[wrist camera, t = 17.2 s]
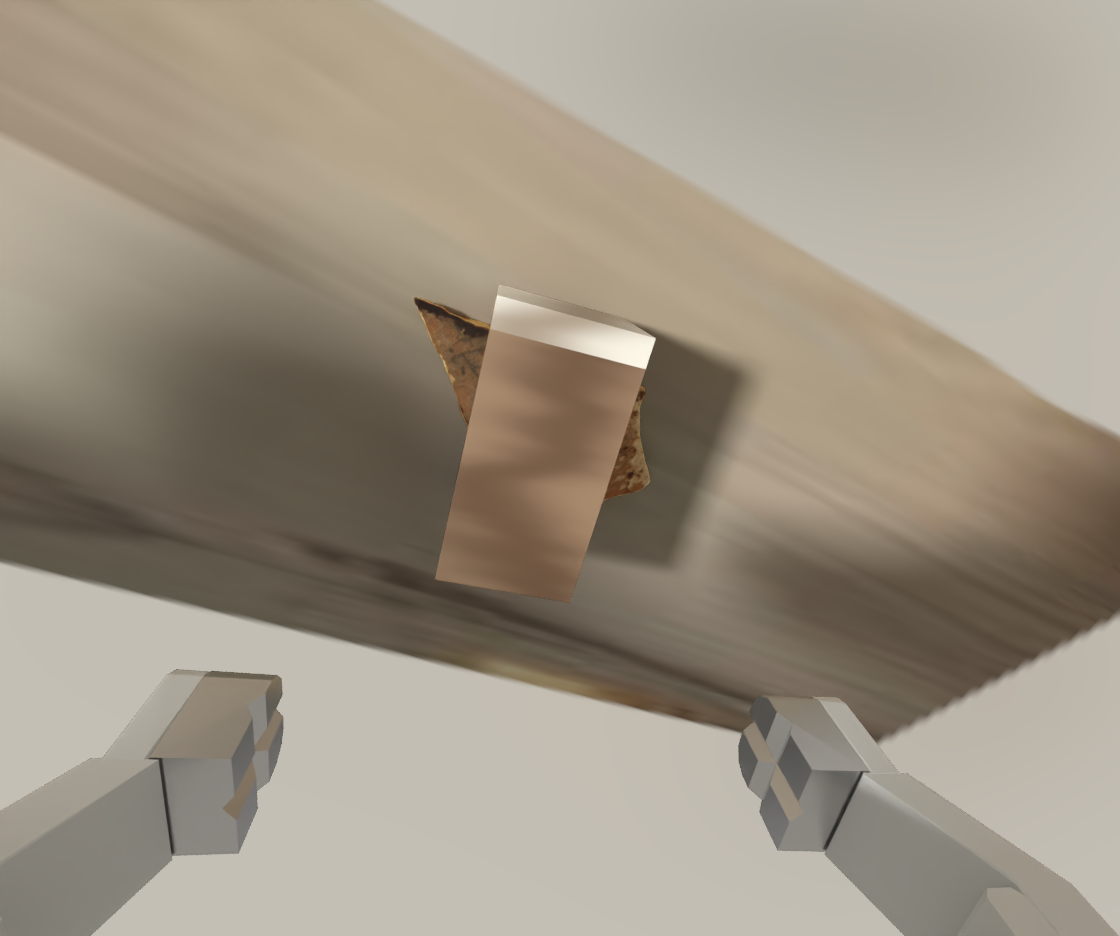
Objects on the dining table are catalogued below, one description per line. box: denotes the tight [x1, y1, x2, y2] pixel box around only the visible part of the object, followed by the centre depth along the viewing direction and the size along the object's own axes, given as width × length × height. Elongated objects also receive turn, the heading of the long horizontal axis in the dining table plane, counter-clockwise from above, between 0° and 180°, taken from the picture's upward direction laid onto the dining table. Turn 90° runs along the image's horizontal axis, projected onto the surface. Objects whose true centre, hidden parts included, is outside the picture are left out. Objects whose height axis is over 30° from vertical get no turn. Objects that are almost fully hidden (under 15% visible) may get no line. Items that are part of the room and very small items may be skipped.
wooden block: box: [435, 284, 656, 603], centre depth 21 cm, size 5×5×10 cm
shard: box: [414, 297, 650, 501], centre depth 24 cm, size 11×8×2 cm
